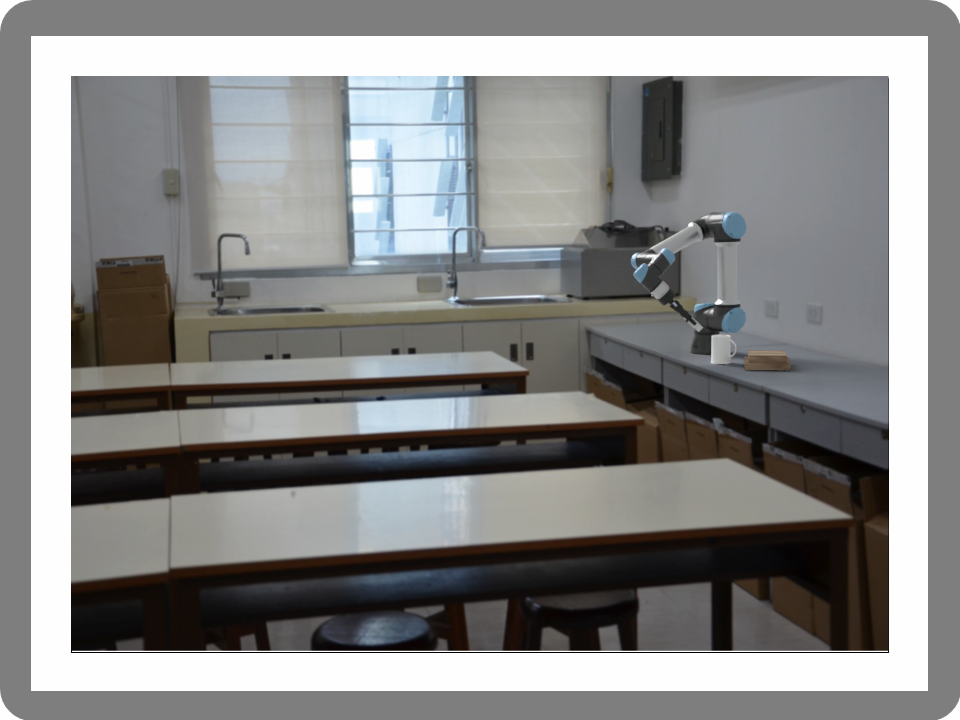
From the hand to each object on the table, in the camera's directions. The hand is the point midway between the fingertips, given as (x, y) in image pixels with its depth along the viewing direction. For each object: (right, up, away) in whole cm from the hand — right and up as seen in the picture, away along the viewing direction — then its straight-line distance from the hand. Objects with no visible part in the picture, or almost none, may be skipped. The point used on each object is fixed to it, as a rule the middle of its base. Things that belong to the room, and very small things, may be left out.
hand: (698, 328), depth 412 cm
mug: (+11, -16, +2) cm, 19 cm away
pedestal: (+26, -17, -11) cm, 33 cm away
